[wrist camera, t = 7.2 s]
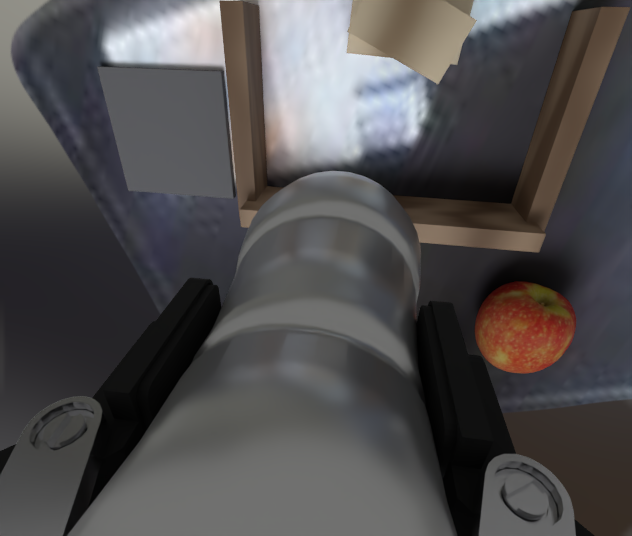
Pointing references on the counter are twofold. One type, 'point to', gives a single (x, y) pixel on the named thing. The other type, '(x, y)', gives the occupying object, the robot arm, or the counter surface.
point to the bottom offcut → (358, 46)
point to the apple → (524, 327)
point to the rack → (431, 213)
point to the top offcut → (414, 32)
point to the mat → (171, 129)
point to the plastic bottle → (297, 388)
